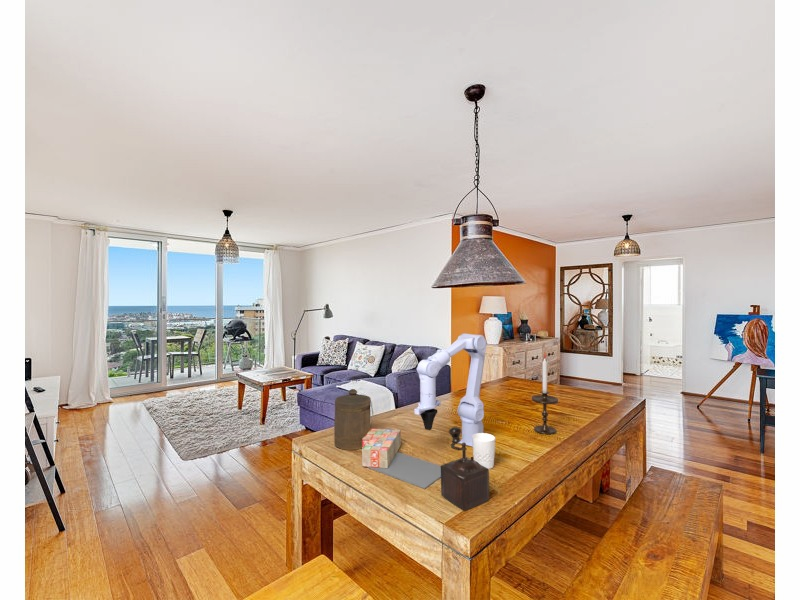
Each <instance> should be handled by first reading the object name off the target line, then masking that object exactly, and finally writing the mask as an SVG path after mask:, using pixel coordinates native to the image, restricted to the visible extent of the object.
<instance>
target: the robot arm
mask: <svg viewBox="0 0 800 600" xmlns="http://www.w3.org/2000/svg"><path fill="white" fill-rule="evenodd" d="M487 343H488V341H487V339H486V338H485V336H484V335H483V334H473V333H465V332H464V333H461V334H460V335H459V336H458V337H457V339H456V340H454V342H453V343H451V344H450V345H449V346H448V347H447V348H446V349H443V348H442V349H437V350H436V352H435V353H433V355H431V356H428V357H427V359H422V360H420V361H419V362H418V364H417V367H416V371H417V374H418V377H419V378H418V379H419V391H420V396H419V397H420V399H419V400H420V401H419V402H418V403H417V405H418V406H417V407H415V408H414V415H417V416H420V418H421V419H422V423H423V425H424V426H423V427H424V429H425V430H426V431H431V430H432V429H433V424H434V421H435V417H436V416H437V413H438V409H436V408H437V407H440V406H441V404H442V403H441V400H440V399H437V398H436V397H437V394H436V390H437V389H436V386H437V385H436V383H437V382H436V381H437V380H436V377H437V376H438V375H439V373H440V372H439V371H440V370H441V369H442V368H444V366H446V365H447V364H449V363H450V362H451V357H454V356H455V355H457V354H458V353H460V352H461V351H462V350H464V351H465V352H467V354H468V355H469V356H470V364H469V372H468V378H467V383H466V391H465V392H466V393H465V395H464V396H463V397H461V398H460V400H459V401H460V402H459V404H458V406H457V415H458V416H459V417H460V420H461V439H460V440H461V441H460V442H458V444H461V445H462V443H463V442H464V443H466V446H469V447H472V448H473V439H472V436H473V435H474V434H477V433H484V423H483V419H484V416H485V412H484V411H485V410H484V406H485V405H484V402H483V401H482V400H481V399H480V395H481V394H480V392H481V387H482V379H483V374H484V367H485V358H486V350H487Z"/></svg>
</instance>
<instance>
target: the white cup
mask: <svg viewBox="0 0 800 600" xmlns="http://www.w3.org/2000/svg"><path fill="white" fill-rule="evenodd" d="M472 439H473V447H472V452H473V453H472V454H473V456H472V457H473V458H474V459H473V460H475V461H477V462H478V463H479V464H480V465H482V466H484V467H486V468H488V469H489V470H491V469H493V468H494V466H495V454H496V453H495V452H496V437H495V436H494V434H493V435H492V434H491V433H487V432H483V433H477V434H474V435H473V436H472Z"/></svg>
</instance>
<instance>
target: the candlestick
mask: <svg viewBox="0 0 800 600" xmlns="http://www.w3.org/2000/svg"><path fill="white" fill-rule="evenodd" d="M546 355H547V353H546V352H544V354H543V361H542V368H541V369H542V390H541V391H540V392H539V393H541V394H537V395H533V396H531V401H532V402H534V403H536V404H541V405H542V410H543V412H541V416H542V418H541V420H542V421H543V422H542V423H543V424H542V425H536V426H534V427H533V428H534V429H533V430H534V432H535V433H537V434H540V435H544V434H546V435H545V436H547V435H548V436H550V435H551V434H553V435H555V434H557V428H555V427H554V426H553V427H552V426H549V425H548V424H547V422H548V421H549V419H548V416H549V413H548V412H547V405H554V404H558V403H559V398H557V397H555V396H553V395H549V394H551V393H550V392H549V391H548V361H546ZM551 436H552V435H551Z"/></svg>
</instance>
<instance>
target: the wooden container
mask: <svg viewBox="0 0 800 600" xmlns="http://www.w3.org/2000/svg"><path fill="white" fill-rule="evenodd" d="M371 406H372V401H371V397H370V396H368V395H366V394H358V390H357V389H356V388H351V389H349V390H348V394H345V395H340V396H337V397H336V398H335V399H334V421H333V422H334V425H333V426H334V431H333V432H334V437H333V438H334V446H335V447H336V448H338V449H341V450H345V451H353V450H354V451H356V450H362V439H363V438H364V437H365V436H366V435H367V433H368V432H369V431H370V430H371V429H372V419H371V418H372V417H371V415H372V414H371V412H372V411H371V410H372V409H371Z"/></svg>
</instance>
